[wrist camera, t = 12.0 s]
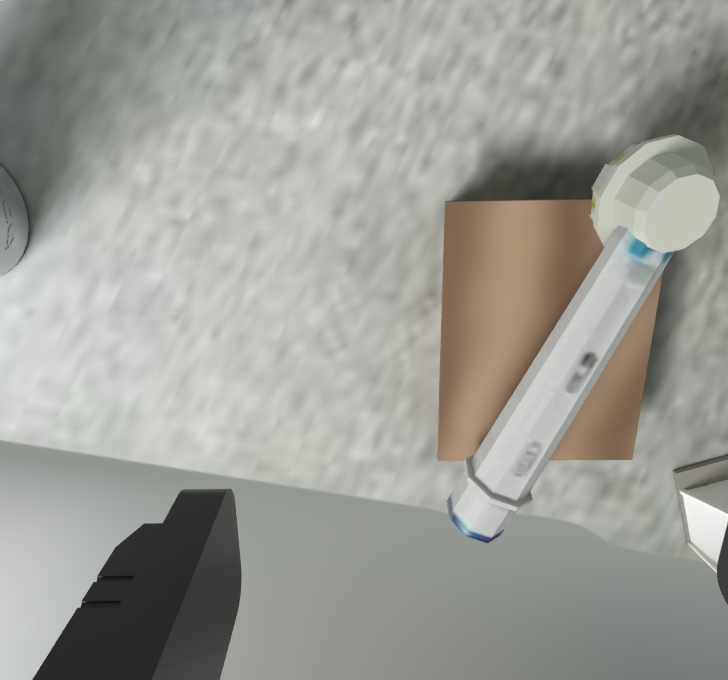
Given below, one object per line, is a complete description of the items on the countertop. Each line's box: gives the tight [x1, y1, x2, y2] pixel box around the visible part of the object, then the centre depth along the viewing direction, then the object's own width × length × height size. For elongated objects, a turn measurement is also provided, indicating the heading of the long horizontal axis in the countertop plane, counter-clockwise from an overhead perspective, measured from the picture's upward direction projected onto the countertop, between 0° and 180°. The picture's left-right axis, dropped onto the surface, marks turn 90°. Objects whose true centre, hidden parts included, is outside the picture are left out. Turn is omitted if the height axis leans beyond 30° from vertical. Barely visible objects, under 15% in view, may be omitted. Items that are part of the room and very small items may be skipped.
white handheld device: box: [447, 134, 720, 543], centre depth 31 cm, size 5×7×25 cm
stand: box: [437, 199, 663, 461], centre depth 35 cm, size 13×17×4 cm
